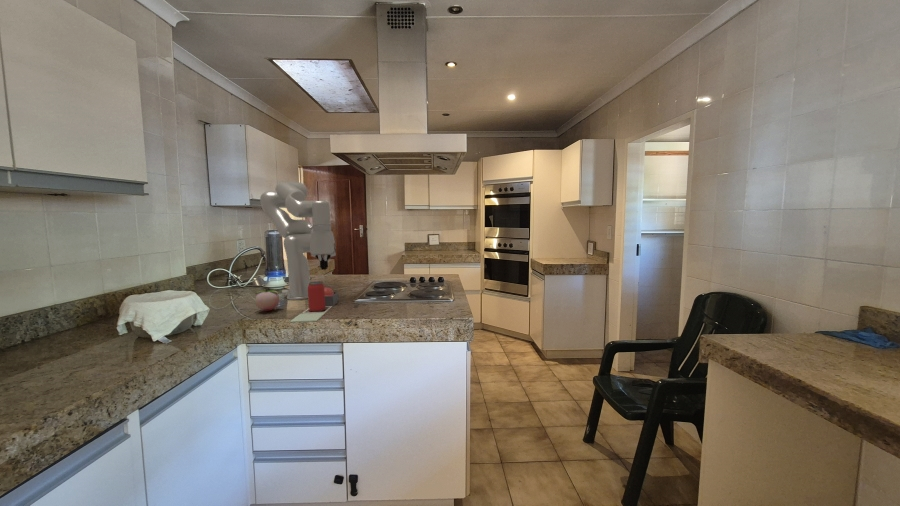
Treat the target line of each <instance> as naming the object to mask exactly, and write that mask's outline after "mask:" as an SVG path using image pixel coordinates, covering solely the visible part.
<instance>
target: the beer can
mask: <svg viewBox="0 0 900 506" xmlns="http://www.w3.org/2000/svg"><path fill="white" fill-rule="evenodd" d="M324 288H325V285H324V284H323V281H310V283H309V285H308V298H307V299H308V308H309V310H308V311H309V312H324V310H325V311H326V308H327V307H326V306H325V292H324Z"/></svg>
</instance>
